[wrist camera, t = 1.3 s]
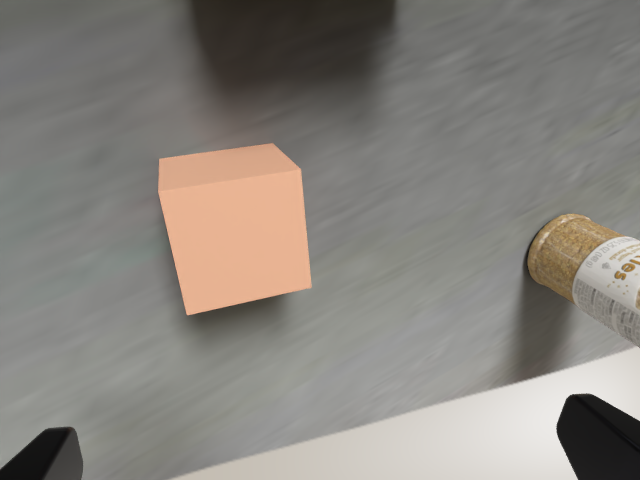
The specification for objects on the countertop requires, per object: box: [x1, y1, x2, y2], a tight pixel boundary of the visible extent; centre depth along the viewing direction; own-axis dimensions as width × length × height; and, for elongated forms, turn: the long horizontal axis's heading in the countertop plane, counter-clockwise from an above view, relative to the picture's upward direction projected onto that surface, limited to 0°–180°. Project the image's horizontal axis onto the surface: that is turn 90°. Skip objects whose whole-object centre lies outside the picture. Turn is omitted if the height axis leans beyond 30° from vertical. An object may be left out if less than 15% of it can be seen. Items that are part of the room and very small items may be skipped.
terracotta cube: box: [158, 143, 312, 315], centre depth 17 cm, size 4×4×4 cm
